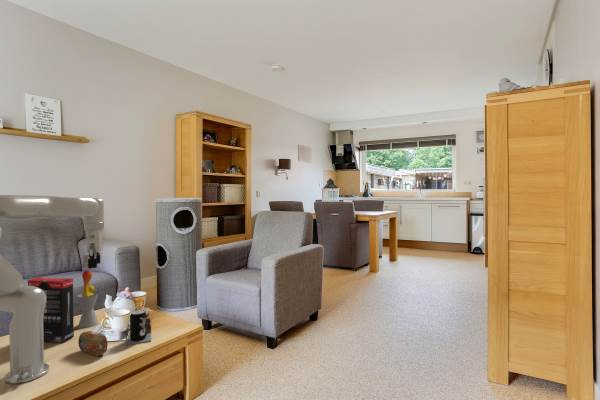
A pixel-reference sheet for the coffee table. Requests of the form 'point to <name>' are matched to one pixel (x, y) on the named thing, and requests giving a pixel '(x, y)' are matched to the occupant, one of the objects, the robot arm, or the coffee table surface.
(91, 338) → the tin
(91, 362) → the coffee table surface
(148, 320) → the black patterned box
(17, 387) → the coffee table surface
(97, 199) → the robot arm
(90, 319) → the lava lamp
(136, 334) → the beverage can
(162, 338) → the coffee table surface
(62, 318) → the graphics card box
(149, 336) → the grey mat
